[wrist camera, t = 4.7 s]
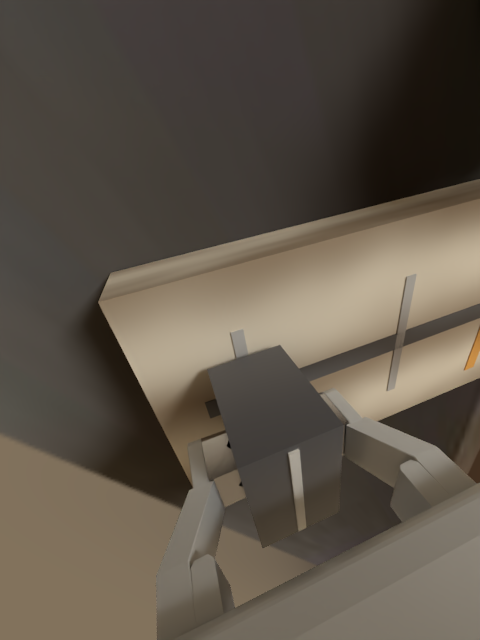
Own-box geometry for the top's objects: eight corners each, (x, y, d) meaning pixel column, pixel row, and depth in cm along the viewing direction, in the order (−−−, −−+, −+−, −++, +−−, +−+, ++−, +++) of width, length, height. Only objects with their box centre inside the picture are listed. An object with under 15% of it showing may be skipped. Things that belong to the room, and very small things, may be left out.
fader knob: (207, 369, 10) (238, 471, 6) (279, 344, 10) (345, 426, 7) (231, 447, 12) (263, 550, 9) (288, 425, 13) (340, 514, 9)
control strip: (110, 273, 10) (97, 303, 8) (550, 161, 14) (636, 156, 12) (190, 448, 17) (197, 498, 14) (483, 334, 21) (530, 356, 18)
